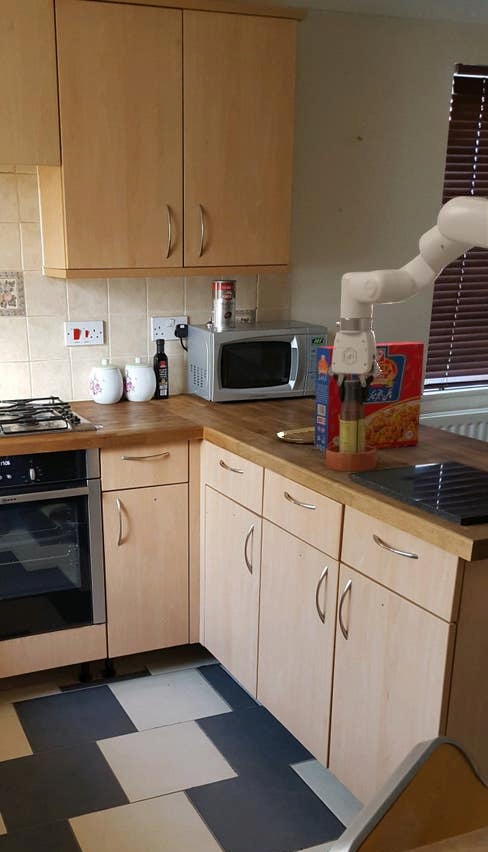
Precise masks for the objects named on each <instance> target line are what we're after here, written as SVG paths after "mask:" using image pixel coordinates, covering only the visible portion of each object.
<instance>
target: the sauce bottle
mask: <svg viewBox="0 0 488 852" xmlns="http://www.w3.org/2000/svg"><path fill="white" fill-rule="evenodd" d="M360 386H361V380H346V381H344V387H345V399H344V402H343V404H342V406H341V412H340V452H341V453H363V452H365V409H364V405H363V403H359V387H360Z"/></svg>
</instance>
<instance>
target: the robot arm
mask: <svg viewBox="0 0 488 852" xmlns="http://www.w3.org/2000/svg"><path fill="white" fill-rule="evenodd" d="M474 247H478V248H483V249H488V198H485V197H481V196H467V195H466V196H464V195H461V196H455V197H453V198H451V199H449V200H448V201H447V202H445V204H444V205H443V206H442V207H441V209H440V211H439V213H438V215H437V220H436V225H434V226H433V227H432V228H430V229H429V230H428V231H426V232H425V233H423V234H422V235H421V237H420V238H419V240H418V248H419V252H420V253H419V254H418V255H417V256H415V257H414V258H413V259H412V260H411V261H409V262H407V263H406V264H405V265H403V266H402V267H399V269H378V270H377V269H376V270H372V271H352V272H351V271H349V272H346V273H344V274H342V277H341V284H340V287H341V289H340V292H341V293H340V316H339V320H335V324H334V325H335V327H336V328H337V327H338V328H339V329H338V330H339V331H336V334H335V337H334V343H333V346H334V348H333V356H332V364H331V366H330V367H329V369H328V370H327V373H328V374H329V375H331V376H332V377H333V378H334V380H335V381H336V382H337V385H338V386H339V398H340V402H344V399H345V387H344V381H346V380H347V379H348V375H349V374H360V380H361V387H359V403H365V402H366V401H367V399H368V387H369V385H370V384H371V383H372V382H373V381H374V380H375V379H376V378H377V377H379V376H380V375H381V374H382V371H381V369H380V367H379V366H378V364H377V362H376V344H377V343H376V342H377V341H376V336H375V331H372V330H373V307H374V306H373V305H387V304H398V303H399V304H400V303H403V302H406V301H408V300H410V299H412V298H414V297H415V296H416V295H418V294H419V293H421V292H422V291H423V290H425V289H426V288H428V287H430V286H431V285H432V284H433V283H434V282H435V281H436V280H437V278H438V277H439V276H440V274H441V273H442V272H443V270H444V269H445V268H446V267H447V266H448V265H450V264H451V263H453V262H454V261H456V260H457V259H458V258H460V257H461V256H463V255H464V254H465V253H467V252H468V251H470V250H471V249H473V248H474ZM372 372H374V373H373V374H372V375H371V376H369V373H372Z"/></svg>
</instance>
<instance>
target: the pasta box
mask: <svg viewBox="0 0 488 852" xmlns="http://www.w3.org/2000/svg"><path fill="white" fill-rule="evenodd" d="M333 348H334V345H326V346H325V345H324V346H316V365H315V366H316V368H315V369H316V371H315V404H314V405H315V411H314V427H315V444H313V446H314V447H316V448H318V449H320V450H322V451H325V450H326V448H327V447H329V446H334V445H340V412H341V406H342V404H343V402H340V398H339V386H338V385H337V382H336V381H335V380H334V378H333V377H332V376H331V375H329V374H328V373H327V370H328V369H329V367H330V366H331V364H332V356H333ZM424 351H425V343H424V342H415V341H414V342H413V341H397V342H383V343H382V342H379V343H376V362H377V364H378V366H379V367H380V369H381V371H382V374H381V375H380V376H379V377H377V378H376V379H375V380H374V381H373V382H372V383H371V384H370V385H369V387H368V399H367V401H366V402H365V403H363V405H364V409H365V445H367V446H372V447H375V448H376V449H377V450H381V449H380V448H384V449H388V448H387V447H396V446H405V445H416V444H418V445H419V432H420V417H421V415H420V414H421V399H422V398H421V397H422V385H423V384H422V383H423V370H424V369H423V368H424V367H423V366H424ZM373 373H374V372H372V373H369V376H371V375H372V374H373ZM347 380H360V374H349V375H348V379H347ZM360 387H361V386H360ZM314 447H313V448H314ZM396 448H397V447H396ZM322 451H321V452H322Z"/></svg>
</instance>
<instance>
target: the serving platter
mask: <svg viewBox="0 0 488 852" xmlns="http://www.w3.org/2000/svg"><path fill="white" fill-rule="evenodd" d="M308 431H315V426H309V427H303V428H297V429H289V430H283V431H279V432H278V433H277V434H276V435H277V438H279V440H281V441H283V440H285V441H290V442H303V443H314V442H315V439H313V440H303V439H290V438H284V437H282V436H284V435H287V434H293V433H300V432H308ZM285 441H284V442H285Z"/></svg>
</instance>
